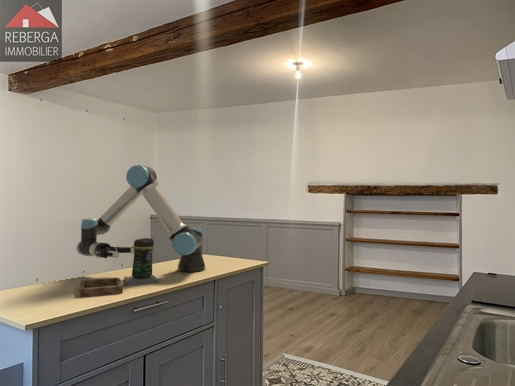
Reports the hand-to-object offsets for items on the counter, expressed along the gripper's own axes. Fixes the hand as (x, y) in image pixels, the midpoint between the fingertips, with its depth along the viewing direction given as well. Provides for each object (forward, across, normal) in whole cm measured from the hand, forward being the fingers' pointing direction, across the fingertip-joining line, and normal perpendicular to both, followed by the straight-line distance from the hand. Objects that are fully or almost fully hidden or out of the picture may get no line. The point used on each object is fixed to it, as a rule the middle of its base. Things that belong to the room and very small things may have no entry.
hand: (129, 253), depth 186 cm
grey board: (+8, 0, -13) cm, 15 cm away
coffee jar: (+6, -3, -11) cm, 13 cm away
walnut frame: (+6, +21, -13) cm, 25 cm away
